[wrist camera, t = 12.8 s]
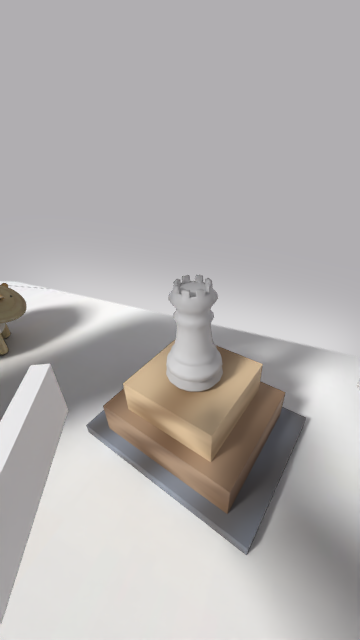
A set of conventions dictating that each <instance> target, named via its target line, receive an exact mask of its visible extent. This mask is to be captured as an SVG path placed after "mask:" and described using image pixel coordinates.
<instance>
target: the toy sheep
mask: <svg viewBox="0 0 360 640" xmlns="http://www.w3.org/2000/svg"><path fill="white" fill-rule="evenodd" d="M25 311H26V302H25V300H24V298H23V297H22V296H21V295H20V294H19V293H17V292H16V291H14V290H12V289H10V288H8V285H7V284H6V283H2V284H1V285H0V355H4V354H6V353H7V352H8V347H7V345H6V343H5V341H4V339H3V338H7V337H9V336H10V334H11V333H10V331H9V329H8V327H7V324H6V322H10V321H13V320H16V319H18V318H19V317H21V316H22V315H23V314H24V313H25Z"/></svg>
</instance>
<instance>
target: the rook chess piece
mask: <svg viewBox="0 0 360 640" xmlns="http://www.w3.org/2000/svg"><path fill="white" fill-rule="evenodd" d="M195 277H196V279H195V281H190V276H189V275H186V276H182V283H180V280H179V279H176V280H175V281H174V285H173V290H172V291H171V293H170V294H169V301H170V302H171V304H172V305H173V306H174V307H175V308H176V311H175V313H174V314H173V319H174V320H175V322H176V327H177V330H176V340H175V343H174V345H173V346H172V348H171V351H170V352H169V353H168V356H167V363H166V366H167V370H166V375H167V377H168V379H169V381H170V382H171V383H173V384H174V385H175V386H177V387H178V388H179V389H181V390H185V391H188V392H201V391H204V390H207V389H210V388H211V387H213V386H214V385H215V384H216V383H217V382H219V381H220V379H221V376H222V374H223V370H222V365H223V364H222V358H221V354H220V352H219V351H218V350H217V347H216V346H215V344H214V343H213V340H212V335H211V321H212V319H213V318H214V315H213V312H212V311H211V310H210V309H211V307H212V306H213V304H214V303H215V302H216V300H217V299H218V295H217V293H216V291H215V290H214V289H213V288H212V280H210V279H209V278H207V279H205V283H204V282H203V276H201V275H196V276H195Z"/></svg>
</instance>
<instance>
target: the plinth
mask: <svg viewBox="0 0 360 640" xmlns="http://www.w3.org/2000/svg"><path fill="white" fill-rule="evenodd" d="M175 340H176V339H175ZM175 340H174V341H173V342H171V343H170V344H169V345H168V346H167V347H166V348H164V349H163V350H162V351H161V352H160V353H158V354H157V355H156V356H155V357H154V358H153V359H151V360H150V361H149V362H148V363H147V364H145V365H144V366H143V367H142V368H141V369H140V370H138V371H137V372H136V373H135V374H134V375H132V376H131V377H130V378H129V379H128V380H127V381H125V382H124V383H123V386H124V389H122V390H121V391H120V392H119V393H118V394H117V395H115V396H114V397H113V398H112V399H111V400H110V401H108V402H107V403H106V404H105V405H104V406H103V407H104V410H103V411H102V412H101V413H100V414H99V415H97V416H96V417H95V418H94V419H93V420H92V421H91V422H89V423H88V424H87V428H88V431H89V432H90V433H91V434H92V435H94V436H95V437H96V438H97V439H99V440H100V441H101V442H102V443H104V444H105V445H106V446H108V447H109V448H110V449H111V450H113V451H114V452H115V453H117V454H118V455H119V456H120V457H122V458H123V459H124V460H125V461H127V462H128V463H129V464H131V465H132V466H133V467H134V468H136V469H137V470H138V471H140V472H141V473H142V474H143V475H145V476H146V477H147V478H149V479H150V480H151V481H152V482H154V483H155V484H156V485H157V486H159V487H160V488H161V489H163V490H164V491H165V492H166V493H168V494H169V495H170V496H172V497H173V498H174V499H175V500H177V501H178V502H179V503H180V504H182V505H183V506H184V507H186V508H187V509H188V510H189V511H191V512H192V513H193V514H195V515H196V516H197V517H198V518H200V519H201V520H202V521H204V522H205V523H206V524H207V525H209V526H210V527H211V528H212V529H214V530H215V531H216V532H218V533H219V534H220V535H221V536H223V537H224V538H225V539H227V540H228V541H229V542H230V543H232V544H233V545H234V546H235V547H237V548H238V549H239V550H241V551H242V552H243V553H244V554H246V555H247V553H248V551H249V548H250V546H251V544H252V542H253V539H254V537H255V535H256V533H257V530H258V528H259V526H260V523H261V521H262V519H263V517H264V514H265V512H266V510H267V507H268V505H269V503H270V501H271V498H272V496H273V494H274V491H275V489H276V487H277V485H278V482H279V480H280V478H281V475H282V473H283V471H284V469H285V466H286V464H287V462H288V460H289V457H290V455H291V453H292V450H293V448H294V446H295V444H296V441H297V439H298V437H299V434H300V432H301V430H302V428H303V425H304V422H305V419H306V418H305V417H303V416H301V415H299V414H296V413H294V412H292V411H290V410H288V409H286V408H284V407H282V405H283V401H284V397H285V392H283V391H281V390H279V389H276V388H274V387H272V386H270V385H267V384H265V383H263V382H260V379H261V372H262V366H263V364H261V363H259V362H256V361H254V360H251V359H249V358H246V357H244V356H241V355H239V354H236V353H234V352H231V351H229V350H226V349H224V348H221V347H219V346H216V345H215V346H216V347H217V350H218V351H219V352H220V354H221V358H222V364H223V365H222V370H223V374H222V376H221V379H220V381H219V382H217V383H216V384H215V385H214V386H213V387H211V388H210V389H207V390H204V391H201V392H188V391H185V390H181V389H179V388H178V387H177V386H175V385H174V384H173V383H171V382H170V381H169V379H168V377H167V375H166V370H167V366H166V363H167V356H168V353H169V352H170V351H171V348H172V346H173V345H174V343H175Z"/></svg>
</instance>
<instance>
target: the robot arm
mask: <svg viewBox="0 0 360 640" xmlns="http://www.w3.org/2000/svg"><path fill="white" fill-rule="evenodd" d="M357 387H358V388H359V390H360V380H359V382H358V384H357ZM67 413H68V407H67V405H66V402H65V400H64V397H63V395H62V392H61V389H60V387H59V384H58V382H57V379H56V377H55V374H54V371H53V369H52V366H51V364H40V365H30V367H29V369H28V371H27V373H26V375H25V377H24V378H23V380H22V382H21V384H20V386H19V388H18V390H17V391H16V393H15V395H14V397H13V399H12V401H11V403H10V404H9V406H8V408H7V410H6V412H5V414H4V416H3V418H2V419H1V421H0V624H1V623H2V620H3V617H4V614H5V611H6V607H7V604H8V601H9V598H10V595H11V592H12V588H13V585H14V582H15V579H16V576H17V573H18V569H19V566H20V563H21V560H22V557H23V553H24V550H25V547H26V544H27V541H28V538H29V534H30V531H31V528H32V525H33V522H34V518H35V515H36V512H37V509H38V506H39V503H40V499H41V496H42V493H43V490H44V487H45V483H46V480H47V477H48V474H49V471H50V468H51V464H52V461H53V458H54V455H55V452H56V448H57V445H58V442H59V439H60V436H61V433H62V429H63V426H64V423H65V420H66V417H67Z"/></svg>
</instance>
